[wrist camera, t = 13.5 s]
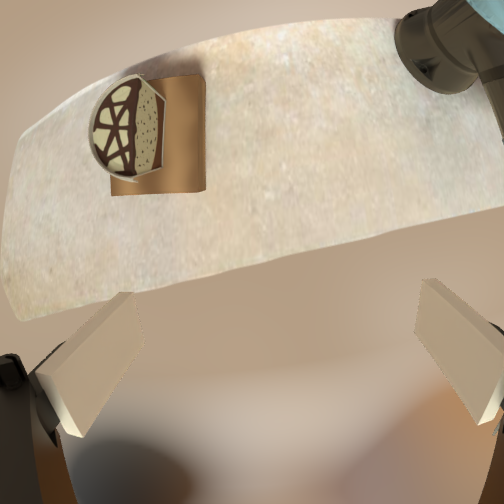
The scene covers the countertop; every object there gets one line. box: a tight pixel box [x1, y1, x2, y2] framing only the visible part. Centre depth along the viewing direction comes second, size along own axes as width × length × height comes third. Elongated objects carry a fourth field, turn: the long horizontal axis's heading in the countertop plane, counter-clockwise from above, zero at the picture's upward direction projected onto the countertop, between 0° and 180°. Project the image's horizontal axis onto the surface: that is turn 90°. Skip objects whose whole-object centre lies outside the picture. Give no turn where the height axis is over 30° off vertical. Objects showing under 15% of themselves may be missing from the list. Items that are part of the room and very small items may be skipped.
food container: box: [88, 73, 166, 183], centre depth 32 cm, size 12×6×10 cm, turn 177°
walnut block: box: [110, 74, 206, 196], centre depth 40 cm, size 13×16×5 cm
